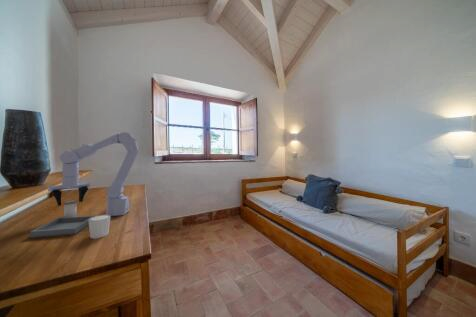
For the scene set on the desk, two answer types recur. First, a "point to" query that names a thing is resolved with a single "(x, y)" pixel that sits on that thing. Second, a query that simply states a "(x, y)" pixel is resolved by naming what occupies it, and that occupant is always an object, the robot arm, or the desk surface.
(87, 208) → the desk surface
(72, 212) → the shaker
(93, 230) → the white cup
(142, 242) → the desk surface
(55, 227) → the tray
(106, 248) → the desk surface
